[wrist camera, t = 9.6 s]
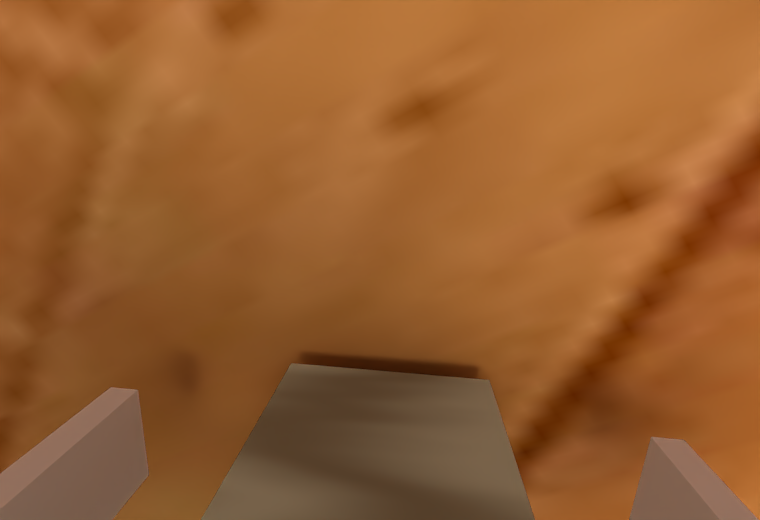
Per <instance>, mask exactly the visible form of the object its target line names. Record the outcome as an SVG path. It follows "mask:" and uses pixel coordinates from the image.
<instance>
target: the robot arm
mask: <svg viewBox="0 0 760 520" xmlns="http://www.w3.org/2000/svg"><path fill="white" fill-rule="evenodd" d="M148 475H149V470H148V462H147V455H146V447H145V439H144V432H143V424H142V416H141V409H140V401H139V393H138V390H136V389H125V388H114V387H110V388H109V389H108V390H106V391H105V392H104V393H103V394H101V395H100V396H99V397H97V398H96V399H95V400H94V401H92V402H91V403H90V404H89V405H87V406H86V407H85V408H83V409H82V410H81V411H80V412H78V413H77V414H76V415H74V416H73V417H72V418H71V419H69V420H68V421H67V422H65V423H64V424H63V425H62V426H60V427H59V428H58V429H56V430H55V431H54V432H53V433H51V434H50V435H49V436H48V437H46V438H45V439H44V440H42V441H41V442H40V443H39V444H37V445H36V446H35V447H33V448H32V449H31V450H30V451H28V452H27V453H26V454H24V455H23V456H22V457H21V458H19V459H18V460H17V461H15V462H14V463H13V464H12V465H10V466H9V467H8V468H6V469H5V470H4V471H3V472H1V473H0V520H113V518H114V517H115V516H116V515H117V513H118V512H119V511H120V510H121V508H122V507H123V506H124V505H125V504H126V502H127V501H128V500H129V499H130V497H131V496H132V495H133V494H134V493H135V491H136V490H137V489H138V488H139V486H140V485H141V484H142V483H143V482H144V480H145V479H146V478H147V477H148ZM629 520H758V519H757V518H756V517H755V516H754V515H753V513H752V512H751V511H750V510H749V509H748V508H747V507H746V506H745V505H744V504H743V503H742V502H741V501H740V499H739V498H738V497H737V496H736V495H735V494H734V493H733V492H732V491H731V490H730V489H729V488H728V487H727V486H726V484H725V483H724V482H723V481H722V480H721V479H720V478H719V477H718V476H717V475H716V474H715V473H714V472H713V470H712V469H711V468H710V467H709V466H708V465H707V464H706V463H705V462H704V461H703V460H702V459H701V458H700V457H699V455H698V454H697V453H696V452H695V451H694V450H693V449H692V448H691V447H690V446H689V445H688V444H687V443H686V441H685V440H681V439H670V438H659V437H651V439H650V443H649V447H648V450H647V454H646V458H645V462H644V466H643V469H642V473H641V477H640V481H639V484H638V488H637V492H636V496H635V499H634V503H633V507H632V511H631V514H630V518H629Z"/></svg>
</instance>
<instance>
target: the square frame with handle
mask: <svg viewBox="0 0 760 520" xmlns="http://www.w3.org/2000/svg"><path fill="white" fill-rule="evenodd" d="M201 520H535V518H534V515H533V512H532V509H531V506H530V503H529V500H528V497H527V494H526V491H525V488H524V485H523V482H522V479H521V476H520V473H519V469H518V466H517V463H516V460H515V457H514V454H513V451H512V448H511V445H510V442H509V439H508V436H507V433H506V430H505V427H504V424H503V420H502V417H501V414H500V411H499V408H498V405H497V402H496V399H495V396H494V393H493V390H492V387H491V384H490V381H489V380H484V379H473V378H461V377H449V376H437V375H426V374H414V373H402V372H390V371H378V370H367V369H355V368H343V367H331V366H319V365H308V364H296V363H291V365H290V366H289V368H288V370H287V371H286V373H285V375H284V377H283V378H282V380H281V382H280V384H279V385H278V387H277V389H276V390H275V392H274V394H273V396H272V397H271V399H270V401H269V403H268V404H267V406H266V408H265V410H264V411H263V413H262V415H261V416H260V418H259V420H258V422H257V423H256V425H255V427H254V429H253V430H252V432H251V434H250V435H249V437H248V439H247V441H246V442H245V444H244V446H243V448H242V449H241V451H240V453H239V454H238V456H237V458H236V460H235V461H234V463H233V465H232V467H231V468H230V470H229V472H228V474H227V475H226V477H225V479H224V480H223V482H222V484H221V486H220V487H219V489H218V491H217V493H216V494H215V496H214V498H213V499H212V501H211V503H210V505H209V506H208V508H207V510H206V512H205V513H204V515H203V517H202V519H201Z"/></svg>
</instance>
